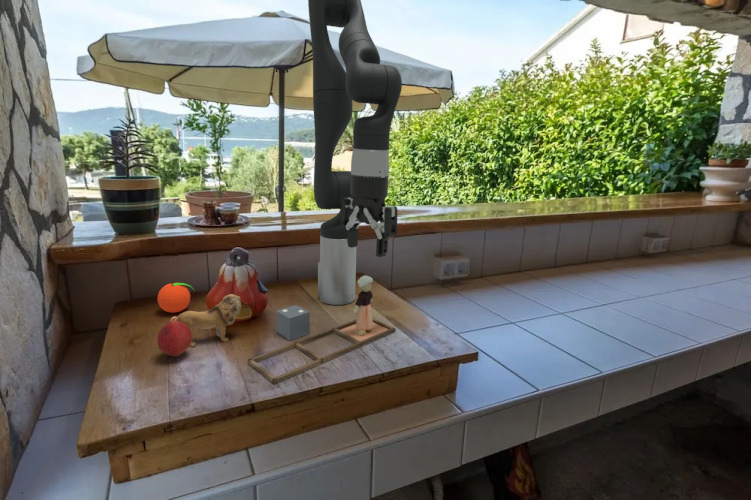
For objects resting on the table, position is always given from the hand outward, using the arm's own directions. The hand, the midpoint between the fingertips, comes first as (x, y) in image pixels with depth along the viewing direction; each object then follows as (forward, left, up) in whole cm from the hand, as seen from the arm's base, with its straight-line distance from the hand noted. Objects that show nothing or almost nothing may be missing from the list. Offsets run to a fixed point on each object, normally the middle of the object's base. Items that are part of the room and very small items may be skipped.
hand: (366, 251), depth 86 cm
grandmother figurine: (0, 0, -18) cm, 18 cm away
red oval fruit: (-15, -34, -19) cm, 42 cm away
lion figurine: (-18, -27, -19) cm, 37 cm away
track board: (0, -10, -18) cm, 21 cm away
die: (-9, -12, -18) cm, 24 cm away
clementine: (-36, -26, -19) cm, 48 cm away
